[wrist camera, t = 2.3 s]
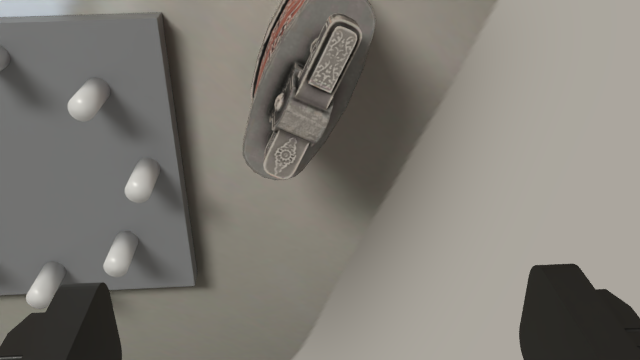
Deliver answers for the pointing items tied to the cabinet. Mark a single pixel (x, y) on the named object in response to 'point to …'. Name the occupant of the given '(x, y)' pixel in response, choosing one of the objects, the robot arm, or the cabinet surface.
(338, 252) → the cabinet surface
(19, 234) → the pin tray
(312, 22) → the lighter
